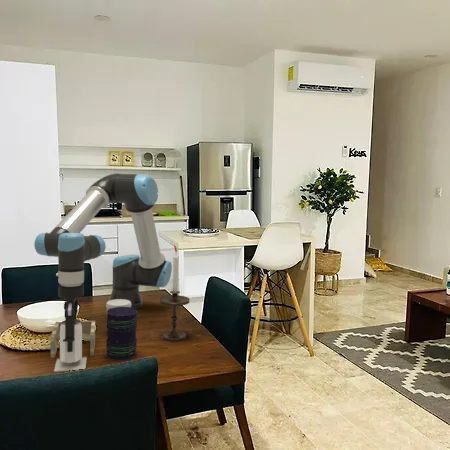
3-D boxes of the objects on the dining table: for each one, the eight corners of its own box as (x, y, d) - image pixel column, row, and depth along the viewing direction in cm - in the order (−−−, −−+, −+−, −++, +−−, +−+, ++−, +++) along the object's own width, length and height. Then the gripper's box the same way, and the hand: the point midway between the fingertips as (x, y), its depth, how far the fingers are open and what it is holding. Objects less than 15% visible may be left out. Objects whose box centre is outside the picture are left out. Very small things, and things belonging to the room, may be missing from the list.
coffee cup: (124, 338, 166) (125, 306, 165) (101, 336, 168) (101, 304, 167) (134, 330, 175) (135, 300, 174) (112, 328, 177) (112, 297, 176)
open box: (55, 341, 161) (55, 322, 160) (95, 339, 164) (95, 320, 164) (50, 358, 146) (50, 336, 146) (93, 355, 150) (94, 334, 149)
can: (64, 355, 145) (64, 318, 144) (84, 356, 145) (85, 319, 143) (56, 363, 138) (56, 324, 137) (77, 364, 138) (77, 325, 137)
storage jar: (141, 351, 155) (142, 308, 153) (129, 362, 145) (129, 316, 144) (114, 347, 157) (115, 305, 155) (100, 358, 147) (100, 313, 146)
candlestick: (159, 342, 164) (161, 246, 160) (159, 332, 174) (161, 241, 171) (189, 341, 165) (192, 246, 162) (187, 331, 176) (190, 242, 172)
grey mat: (57, 360, 145) (57, 358, 145) (86, 358, 147) (86, 357, 147) (54, 371, 136) (54, 370, 136) (85, 369, 139) (85, 368, 139)
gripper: (61, 277, 147) (61, 346, 150) (54, 291, 129) (54, 370, 131) (85, 276, 149) (85, 344, 152) (82, 291, 131) (82, 368, 133)
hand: (71, 356), depth 141 cm, fingers closed on can, 6 cm apart
